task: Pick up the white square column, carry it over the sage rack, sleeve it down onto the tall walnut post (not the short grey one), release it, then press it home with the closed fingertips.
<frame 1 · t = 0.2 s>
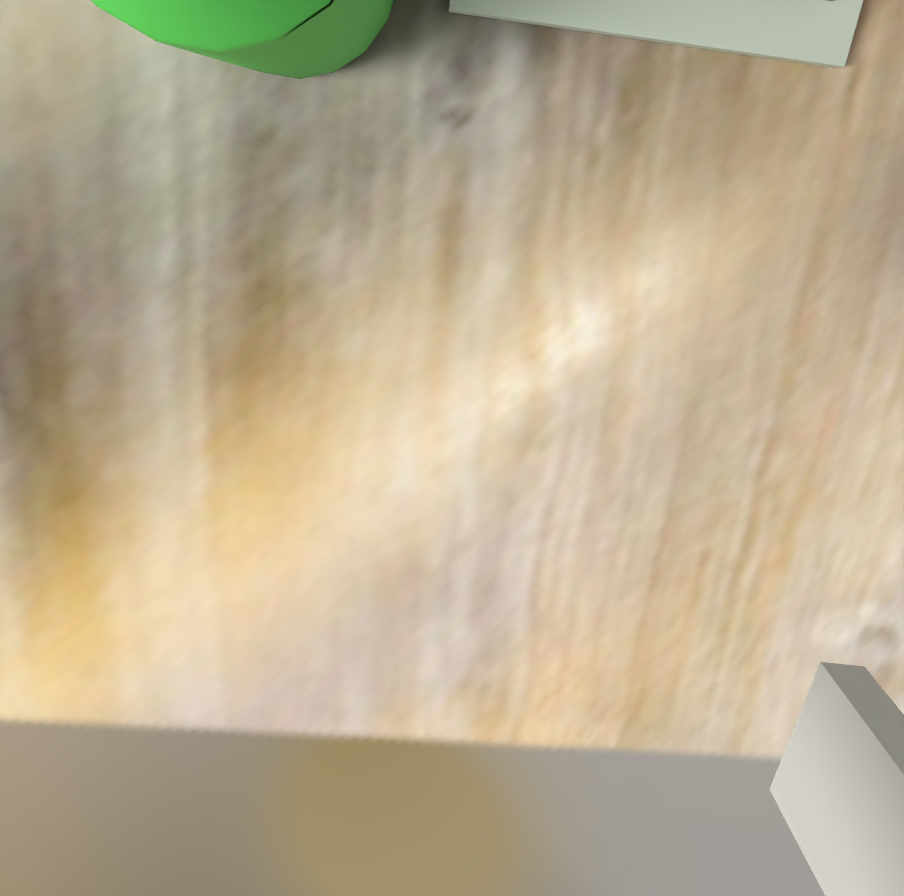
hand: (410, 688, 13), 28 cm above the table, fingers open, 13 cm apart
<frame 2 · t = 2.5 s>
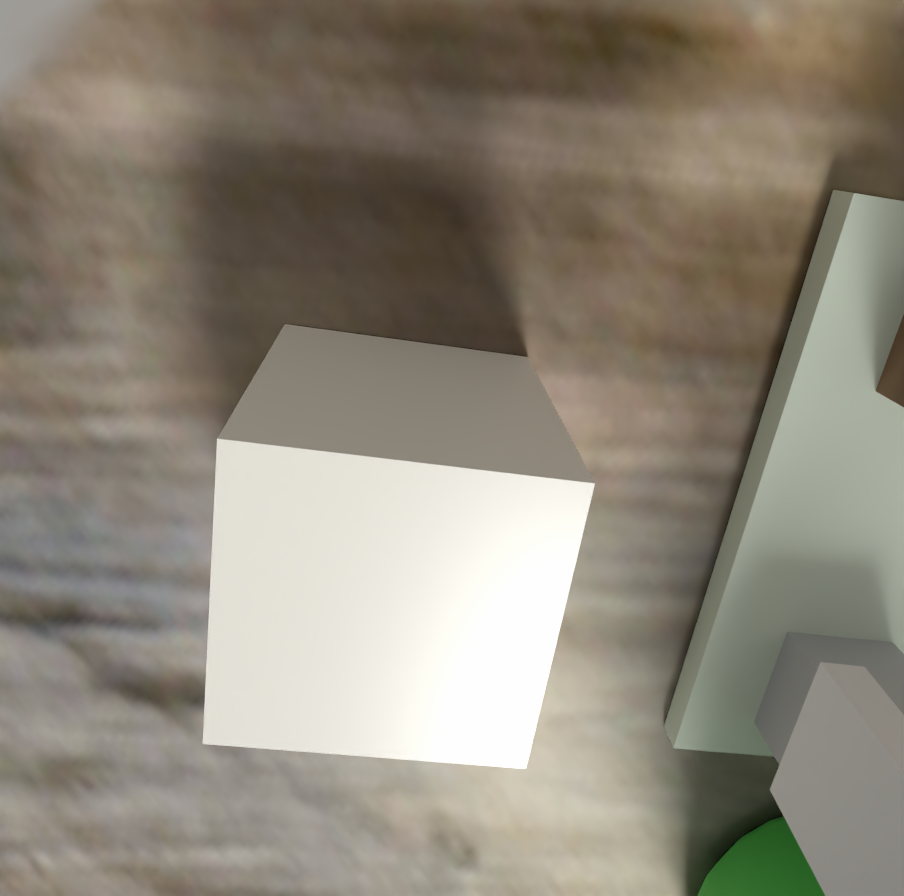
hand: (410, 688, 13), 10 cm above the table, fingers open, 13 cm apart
bottle: (799, 876, 30), on the table
white square column: (393, 453, 22), on the table
rack: (865, 509, 23), on the table
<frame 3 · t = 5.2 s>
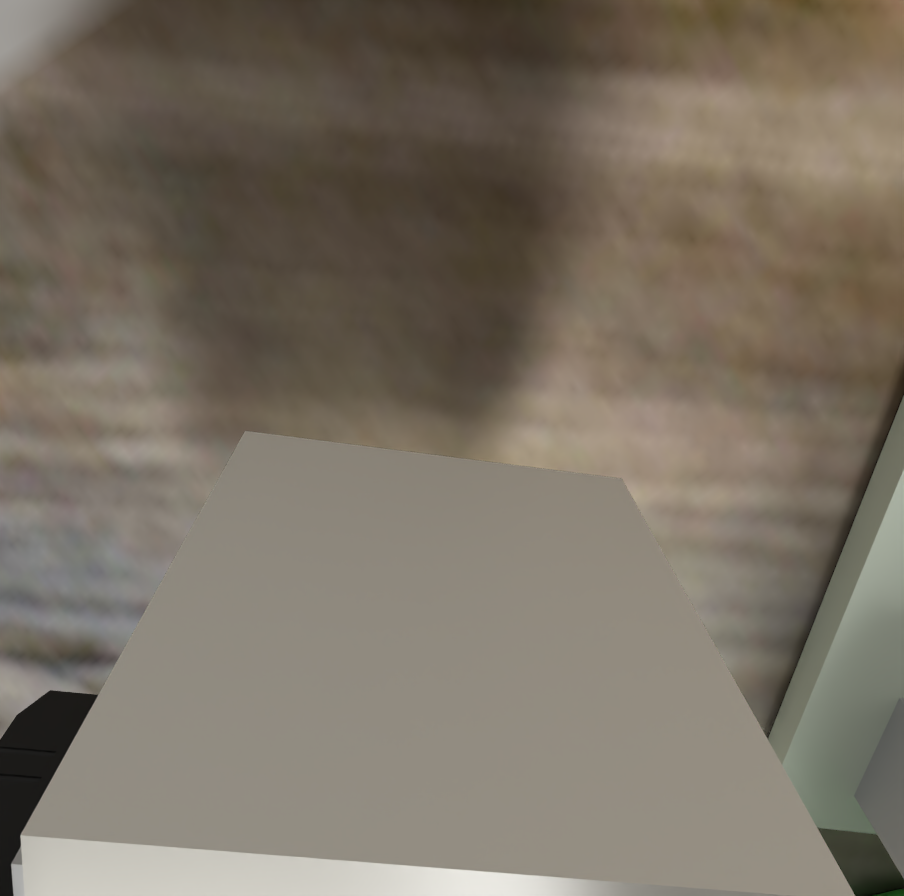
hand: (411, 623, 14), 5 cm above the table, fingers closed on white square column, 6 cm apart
white square column: (412, 614, 15), point 5 cm above the table, touching gripper
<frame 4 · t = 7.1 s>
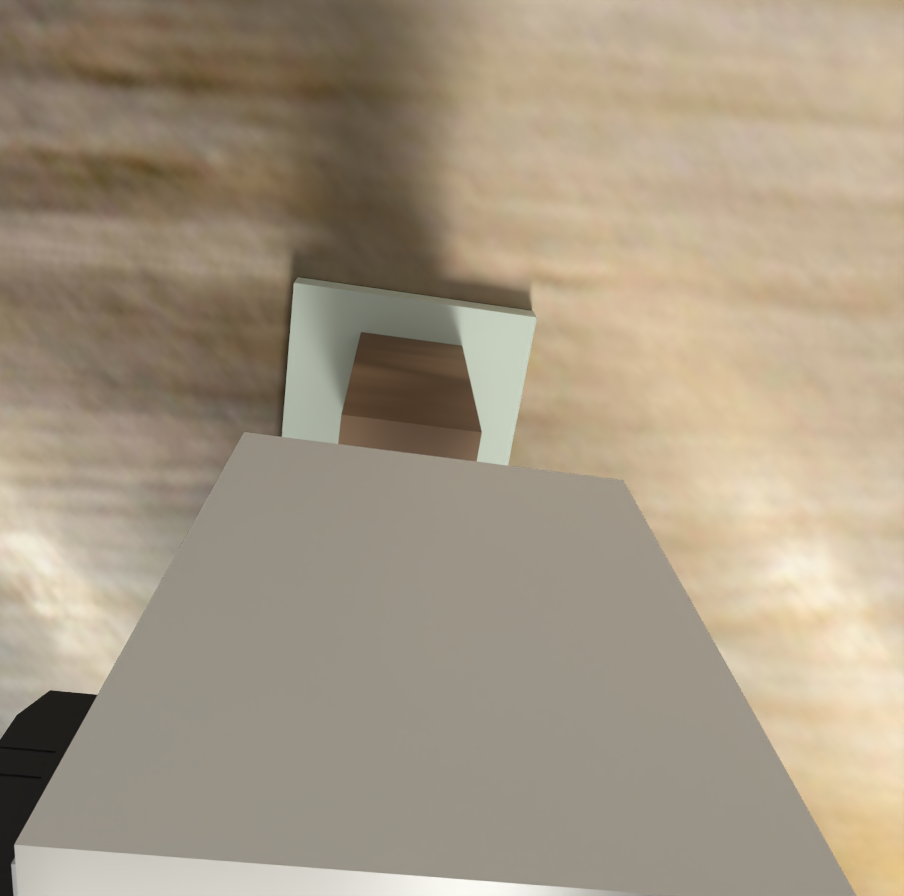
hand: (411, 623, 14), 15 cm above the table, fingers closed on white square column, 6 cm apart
white square column: (412, 616, 15), point 15 cm above the table, touching gripper
rack: (386, 516, 30), on the table
tall post: (405, 378, 28), resting on rack
when the fingers open (2 cm above the table, at t = 9.3 s): white square column stays where it is, resting on tall post.
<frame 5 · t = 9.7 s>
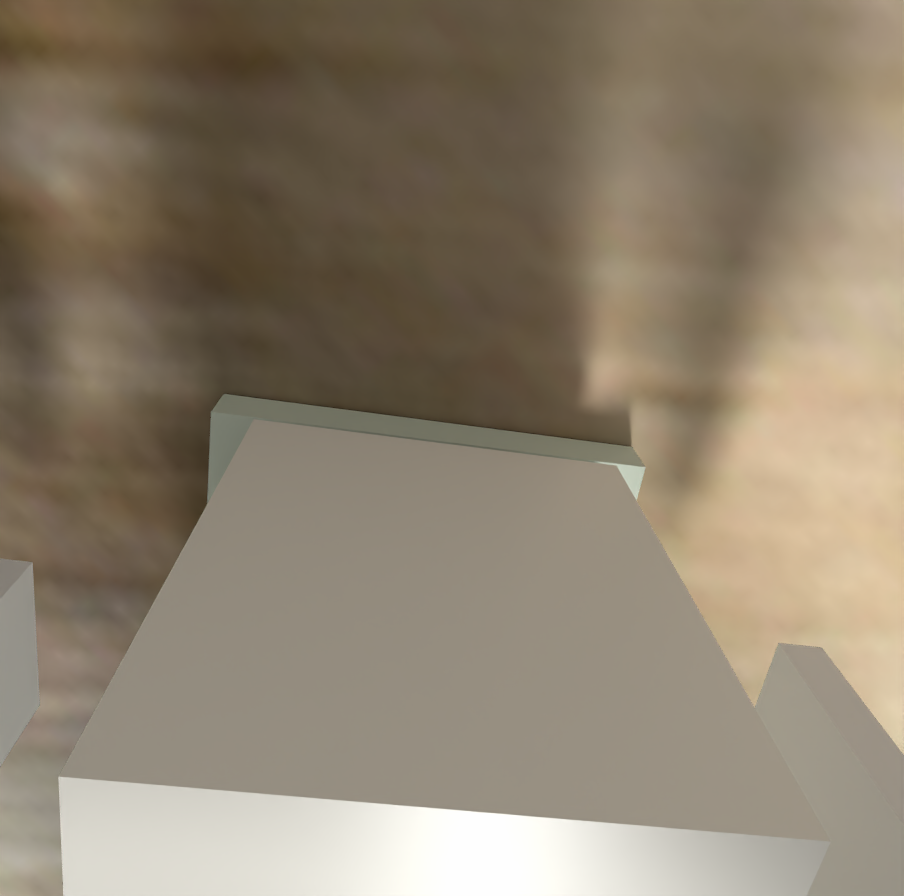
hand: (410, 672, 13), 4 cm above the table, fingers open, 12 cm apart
white square column: (414, 597, 15), point 2 cm above the table, touching tall post
rack: (380, 758, 19), on the table
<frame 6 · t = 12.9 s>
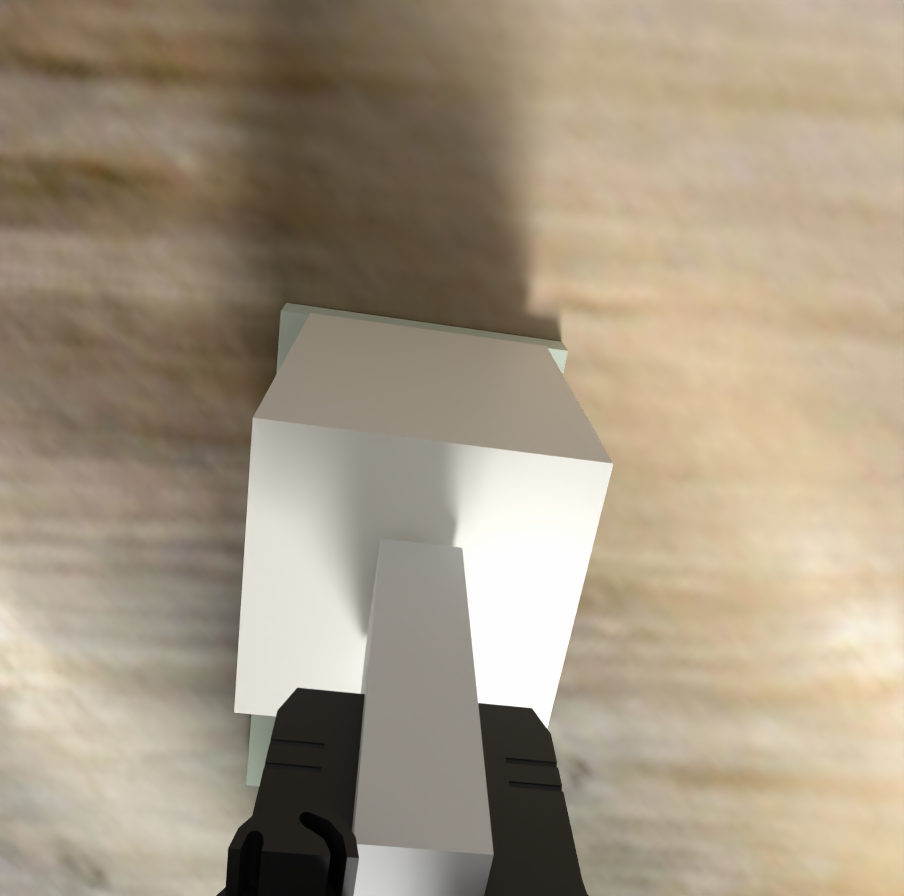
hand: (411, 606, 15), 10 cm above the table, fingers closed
white square column: (414, 439, 23), point 2 cm above the table, touching tall post
rack: (390, 575, 26), on the table
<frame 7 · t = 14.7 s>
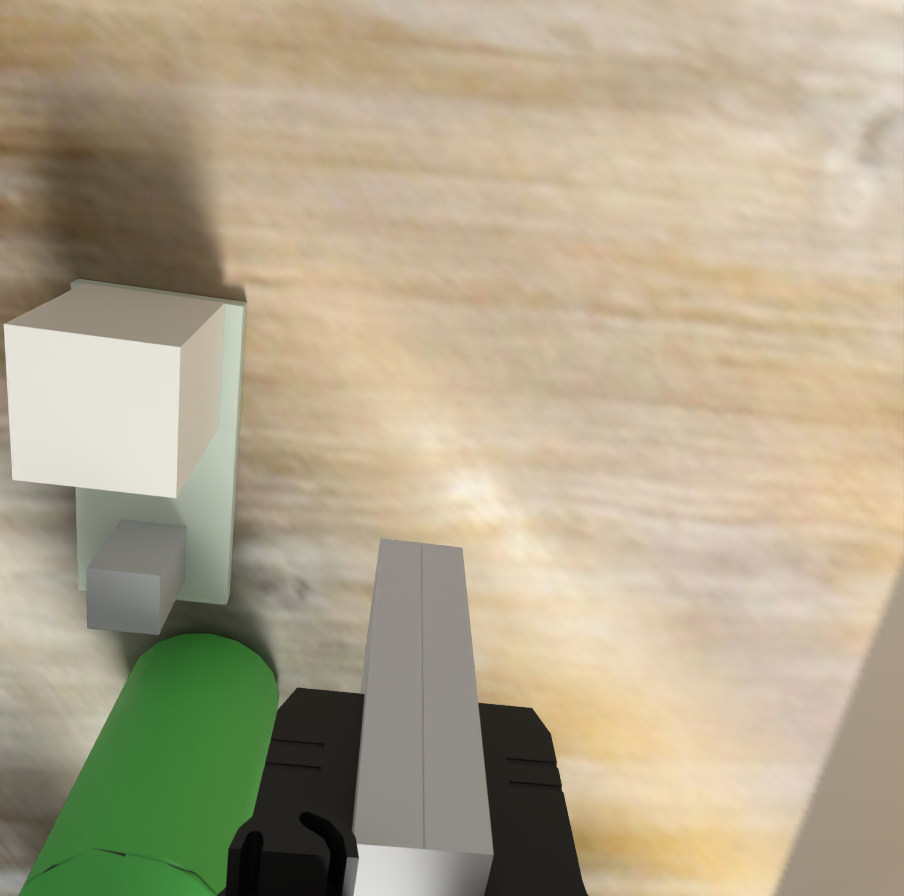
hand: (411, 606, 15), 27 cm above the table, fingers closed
bottle: (208, 683, 48), on the table
white square column: (154, 358, 38), point 2 cm above the table, touching tall post
rack: (160, 450, 42), on the table
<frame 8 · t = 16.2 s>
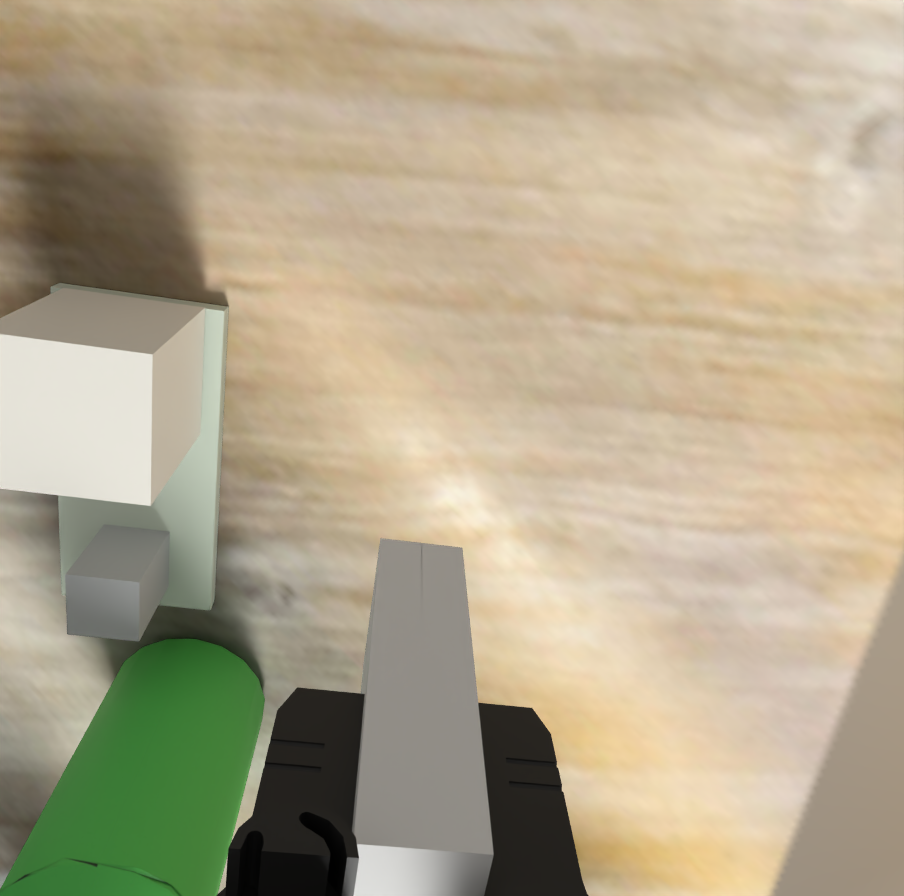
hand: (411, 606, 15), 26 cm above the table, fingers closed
bottle: (194, 688, 48), on the table
white square column: (134, 363, 38), point 2 cm above the table, touching tall post
rack: (143, 455, 42), on the table
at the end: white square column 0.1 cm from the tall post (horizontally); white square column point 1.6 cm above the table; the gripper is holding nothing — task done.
